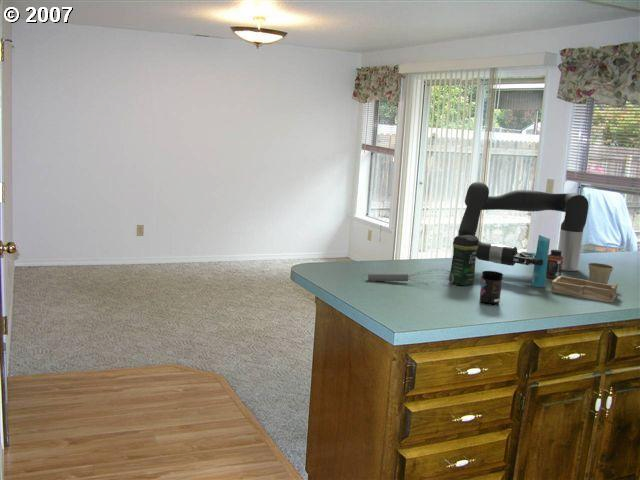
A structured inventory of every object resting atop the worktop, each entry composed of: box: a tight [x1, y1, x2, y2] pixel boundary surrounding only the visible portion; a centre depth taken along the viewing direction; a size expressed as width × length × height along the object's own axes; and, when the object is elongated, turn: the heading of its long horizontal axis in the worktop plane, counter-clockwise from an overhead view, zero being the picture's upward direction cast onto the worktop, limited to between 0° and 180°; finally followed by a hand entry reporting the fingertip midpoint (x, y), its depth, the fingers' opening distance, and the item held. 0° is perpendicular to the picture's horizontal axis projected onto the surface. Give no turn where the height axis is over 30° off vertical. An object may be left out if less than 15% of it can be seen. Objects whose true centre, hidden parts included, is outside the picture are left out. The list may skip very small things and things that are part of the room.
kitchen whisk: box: [361, 268, 454, 287], centre depth 244 cm, size 6×34×6 cm, turn 89°
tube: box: [531, 234, 551, 288], centre depth 252 cm, size 7×5×19 cm, turn 20°
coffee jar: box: [448, 235, 480, 286], centre depth 248 cm, size 10×8×19 cm
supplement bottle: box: [546, 249, 563, 280], centre depth 270 cm, size 6×6×11 cm
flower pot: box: [587, 262, 615, 285], centre depth 258 cm, size 9×9×9 cm
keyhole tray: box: [550, 275, 619, 304], centre depth 245 cm, size 13×21×5 cm, turn 59°
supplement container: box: [479, 270, 504, 306], centre depth 223 cm, size 7×7×10 cm
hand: (545, 261), depth 252 cm, fingers open, 8 cm apart
